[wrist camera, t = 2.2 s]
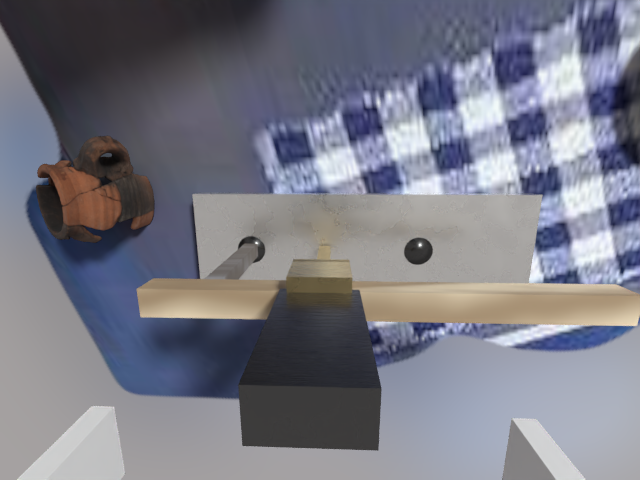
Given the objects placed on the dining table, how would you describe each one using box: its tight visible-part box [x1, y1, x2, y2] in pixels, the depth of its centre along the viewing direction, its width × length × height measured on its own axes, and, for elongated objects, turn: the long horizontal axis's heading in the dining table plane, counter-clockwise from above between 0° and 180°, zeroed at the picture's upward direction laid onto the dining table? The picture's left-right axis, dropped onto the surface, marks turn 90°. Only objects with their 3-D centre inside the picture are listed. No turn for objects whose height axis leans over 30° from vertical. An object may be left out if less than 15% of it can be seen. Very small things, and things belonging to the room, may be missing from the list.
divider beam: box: [137, 243, 640, 326], centre depth 27 cm, size 2×32×14 cm, turn 90°
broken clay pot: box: [36, 136, 154, 243], centre depth 33 cm, size 12×10×8 cm
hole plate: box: [193, 193, 542, 283], centre depth 35 cm, size 12×36×2 cm, turn 90°
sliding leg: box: [238, 246, 381, 450], centre depth 22 cm, size 5×5×23 cm
